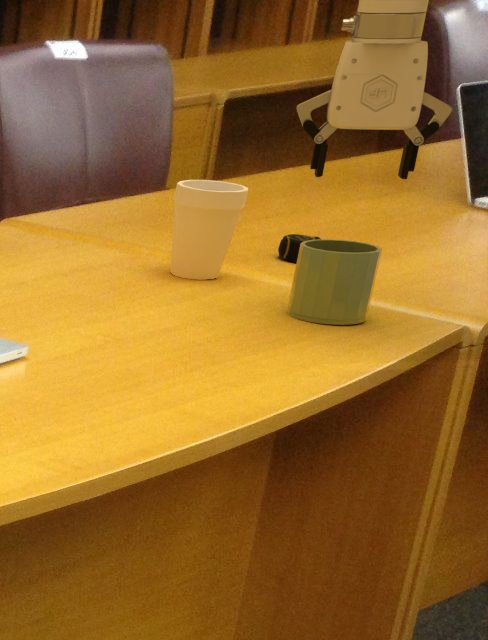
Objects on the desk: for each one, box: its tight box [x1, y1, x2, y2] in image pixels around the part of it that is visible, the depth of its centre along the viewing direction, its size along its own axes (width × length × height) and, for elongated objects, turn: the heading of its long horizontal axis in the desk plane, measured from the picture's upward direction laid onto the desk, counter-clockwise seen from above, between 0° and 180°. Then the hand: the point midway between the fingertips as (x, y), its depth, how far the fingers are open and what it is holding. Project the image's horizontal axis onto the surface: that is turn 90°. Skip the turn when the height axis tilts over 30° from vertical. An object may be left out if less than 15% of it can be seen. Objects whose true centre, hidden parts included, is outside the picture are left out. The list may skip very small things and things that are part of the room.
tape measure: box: [277, 233, 322, 263], centre depth 229 cm, size 7×7×4 cm
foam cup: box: [169, 179, 249, 280], centre depth 217 cm, size 10×9×13 cm
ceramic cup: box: [286, 238, 383, 326], centre depth 197 cm, size 9×9×9 cm
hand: (359, 176), depth 191 cm, fingers open, 9 cm apart
